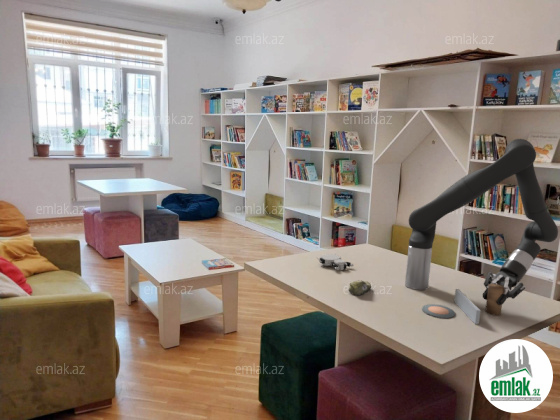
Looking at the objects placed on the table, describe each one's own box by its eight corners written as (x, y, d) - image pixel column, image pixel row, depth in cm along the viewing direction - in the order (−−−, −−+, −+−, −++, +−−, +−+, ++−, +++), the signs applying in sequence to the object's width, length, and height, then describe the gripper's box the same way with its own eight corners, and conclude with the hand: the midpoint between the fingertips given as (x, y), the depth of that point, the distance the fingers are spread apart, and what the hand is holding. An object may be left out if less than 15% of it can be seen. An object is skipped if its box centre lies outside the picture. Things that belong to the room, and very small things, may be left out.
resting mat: (418, 304, 158) (418, 303, 158) (448, 306, 157) (448, 304, 157) (427, 317, 147) (427, 315, 147) (459, 319, 147) (459, 317, 146)
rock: (368, 289, 175) (344, 285, 175) (371, 275, 174) (348, 271, 174) (374, 300, 165) (349, 295, 164) (378, 285, 164) (353, 280, 163)
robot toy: (354, 271, 198) (333, 260, 210) (356, 261, 197) (334, 251, 209) (335, 275, 191) (314, 264, 203) (336, 265, 190) (315, 255, 202)
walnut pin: (483, 309, 156) (486, 283, 154) (496, 310, 156) (500, 284, 154) (488, 315, 151) (492, 288, 149) (503, 315, 151) (506, 288, 149)
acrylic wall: (454, 301, 163) (455, 288, 162) (457, 301, 163) (458, 289, 162) (475, 324, 143) (476, 310, 142) (478, 324, 143) (480, 310, 142)
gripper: (495, 253, 159) (469, 288, 156) (532, 264, 147) (505, 302, 144) (503, 265, 163) (477, 299, 159) (540, 277, 150) (513, 314, 147)
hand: (491, 300), depth 152 cm, fingers closed on walnut pin, 5 cm apart
